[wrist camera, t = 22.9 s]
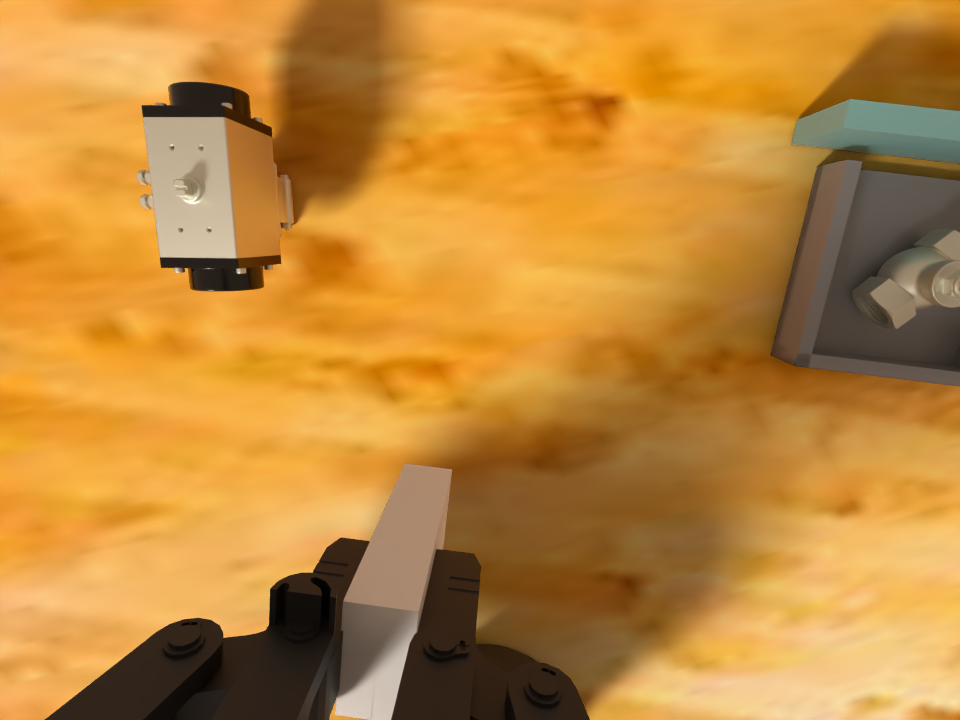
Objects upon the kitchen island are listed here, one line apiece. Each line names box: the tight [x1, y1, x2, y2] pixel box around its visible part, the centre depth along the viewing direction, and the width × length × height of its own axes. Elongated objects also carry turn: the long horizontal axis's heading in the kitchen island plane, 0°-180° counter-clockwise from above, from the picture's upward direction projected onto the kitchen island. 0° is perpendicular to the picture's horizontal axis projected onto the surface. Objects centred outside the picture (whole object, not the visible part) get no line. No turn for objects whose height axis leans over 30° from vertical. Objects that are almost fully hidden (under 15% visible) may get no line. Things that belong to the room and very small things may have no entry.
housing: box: [771, 160, 960, 386], centre depth 37 cm, size 17×17×6 cm
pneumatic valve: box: [137, 82, 294, 291], centre depth 35 cm, size 6×12×12 cm, turn 0°
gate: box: [792, 99, 960, 164], centre depth 35 cm, size 2×15×6 cm, turn 84°
